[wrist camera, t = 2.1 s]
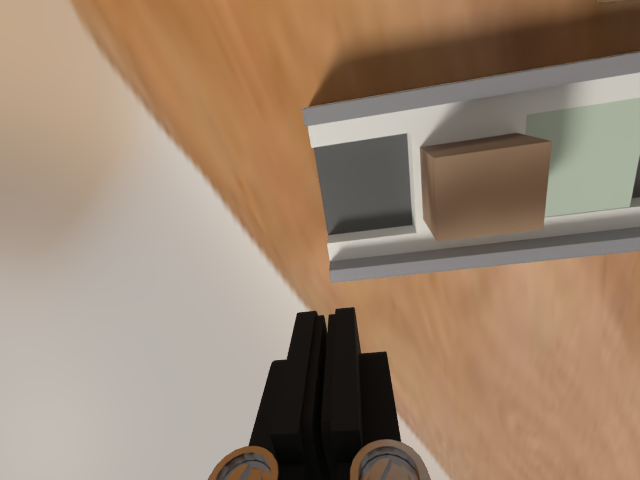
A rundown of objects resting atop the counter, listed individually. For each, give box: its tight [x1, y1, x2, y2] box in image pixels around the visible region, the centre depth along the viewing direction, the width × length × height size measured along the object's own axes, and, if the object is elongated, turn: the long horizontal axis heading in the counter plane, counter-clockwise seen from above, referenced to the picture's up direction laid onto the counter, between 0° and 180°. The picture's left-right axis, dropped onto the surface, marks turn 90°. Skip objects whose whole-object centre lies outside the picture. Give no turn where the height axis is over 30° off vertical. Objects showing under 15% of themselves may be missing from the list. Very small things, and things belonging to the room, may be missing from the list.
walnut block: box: [420, 133, 552, 242], centre depth 21 cm, size 5×6×4 cm
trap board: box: [302, 51, 640, 283], centre depth 23 cm, size 12×27×4 cm, turn 99°
